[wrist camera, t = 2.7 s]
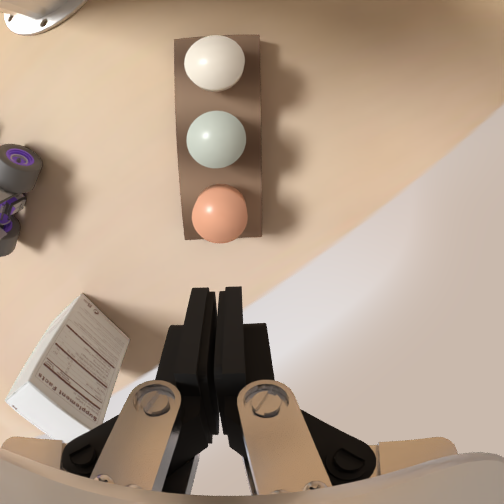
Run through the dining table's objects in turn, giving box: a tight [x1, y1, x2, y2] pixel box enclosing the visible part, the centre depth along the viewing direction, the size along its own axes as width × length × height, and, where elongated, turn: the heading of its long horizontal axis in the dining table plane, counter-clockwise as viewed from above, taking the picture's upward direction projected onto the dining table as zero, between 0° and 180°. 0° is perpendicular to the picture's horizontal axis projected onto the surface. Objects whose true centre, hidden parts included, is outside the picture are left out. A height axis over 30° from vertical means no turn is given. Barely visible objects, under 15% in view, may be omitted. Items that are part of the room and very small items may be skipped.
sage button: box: [187, 111, 246, 168], centre depth 18 cm, size 4×4×2 cm
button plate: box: [174, 35, 262, 240], centre depth 21 cm, size 16×6×2 cm, turn 1°
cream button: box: [184, 35, 245, 92], centre depth 16 cm, size 4×4×2 cm
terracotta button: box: [192, 184, 248, 243], centre depth 20 cm, size 4×4×2 cm
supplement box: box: [5, 293, 130, 443], centre depth 22 cm, size 7×7×13 cm
